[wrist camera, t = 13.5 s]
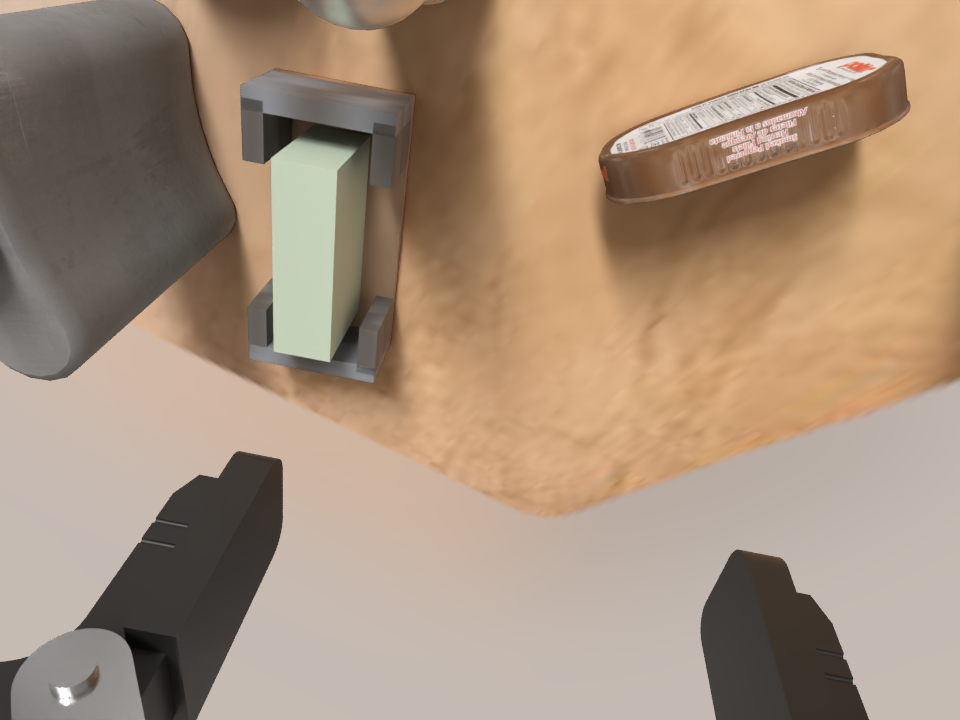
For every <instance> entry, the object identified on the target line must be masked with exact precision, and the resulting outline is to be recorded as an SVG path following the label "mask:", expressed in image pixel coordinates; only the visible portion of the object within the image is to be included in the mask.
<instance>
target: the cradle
mask: <svg viewBox="0 0 960 720" xmlns="http://www.w3.org/2000/svg"><path fill="white" fill-rule="evenodd" d="M240 96H241V126H242V156H243V160H245V161H250V162H255V163H260V164H265V163H266V162H267V161H268V160H270V159H271V158H272V157H273V156H274V155H276V154H277V153H278V152H279V151H281V150H282V149H283V148H285V147H286V146H287V145H289V144H290V143H291V142H293V141H294V140H295V139H296V138H298V137H299V136H300V135H302V134H303V133H304V132H306V131H307V130H308V129H310V128H311V127H312V126H318V127H324V128H329V129H335V130H340V131H345V132H351V133H356V134H361V135H367V136H370V148H369V164H368V180H367V195H366V211H365V227H364V242H363V258H362V273H361V289H360V305H359V310H358V312H357V314H356V316H355V317H354V319H353V321H352V323H351V325H350V327H349V328H348V330H347V332H346V334H345V336H344V337H343V339H342V341H341V343H340V345H339V346H338V348H337V350H336V352H335V354H334V355H333V357H332V359H331V361H330V362H326V361H321V360H315V359H310V358H305V357H300V356H294V355H289V354H284V353H278V352H274V336H273V277H272V279H271V280H270V281H269V282H268V283H267V285H266V286H265V287H264V288H263V289H262V290H261V292H260V293H259V294H258V295H257V296H256V297H255V299H254V300H253V301H252V302H251V303H250V304H249V306H248V335H249V359H251V360H256V361H261V362H267V363H272V364H277V365H282V366H287V367H293V368H298V369H303V370H308V371H313V372H318V373H324V374H329V375H334V376H339V377H344V378H350V379H355V380H360V381H365V382H370V383H374V381H375V378H376V376H377V374H378V371H379V369H380V367H381V364H382V362H383V360H384V358H385V355H386V353H387V351H388V348H389V346H390V344H391V335H392V325H393V315H394V305H395V295H396V285H397V275H398V265H399V255H400V245H401V235H402V225H403V215H404V205H405V195H406V185H407V175H408V165H409V155H410V145H411V135H412V125H413V115H414V105H415V95H414V94H408V93H403V92H398V91H393V90H387V89H382V88H377V87H371V86H366V85H361V84H356V83H350V82H345V81H340V80H334V79H329V78H324V77H319V76H313V75H308V74H303V73H298V72H292V71H287V70H282V69H273V70H271V71H269V72H267V73H265V74H263V75H261V76H258V77H256V78H254V79H252V80H250V81H248V82H246V83H244V84H241V85H240Z"/></svg>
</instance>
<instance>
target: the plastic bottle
mask: <svg viewBox="0 0 960 720" xmlns="http://www.w3.org/2000/svg"><path fill="white" fill-rule="evenodd" d="M298 1H299V2H300V3H302V4H303V5H304V6H305V7H307V8H308V9H309V10H311V11H312V12H313V13H315V14H316V15H318V16H319V17H321V18H323V19H325V20H327V21H329V22H331V23H333V24H335V25H338V26H342V27H345V28H349V29H354V30H374V29H380V28H386V27H388V26H391V25H393V24H396V23H398V22H400V21H402V20H403V19H405V18H406V17H408V16H409V15H410V14H412V13H413V12H414V11H416V10H417V9H418V8H419V7H420V6H421V4H422V5H431V4H437V3H442V2H444V1H446V0H298Z"/></svg>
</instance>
